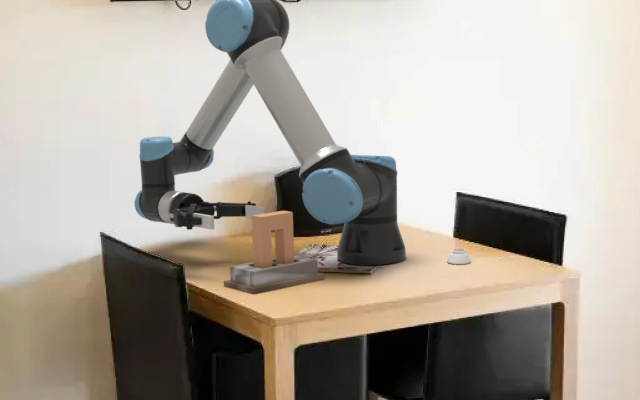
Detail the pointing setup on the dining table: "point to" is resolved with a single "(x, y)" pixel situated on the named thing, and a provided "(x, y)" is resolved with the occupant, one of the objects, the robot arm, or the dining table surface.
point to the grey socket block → (273, 275)
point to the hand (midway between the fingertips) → (239, 218)
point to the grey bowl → (458, 257)
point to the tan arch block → (263, 242)
